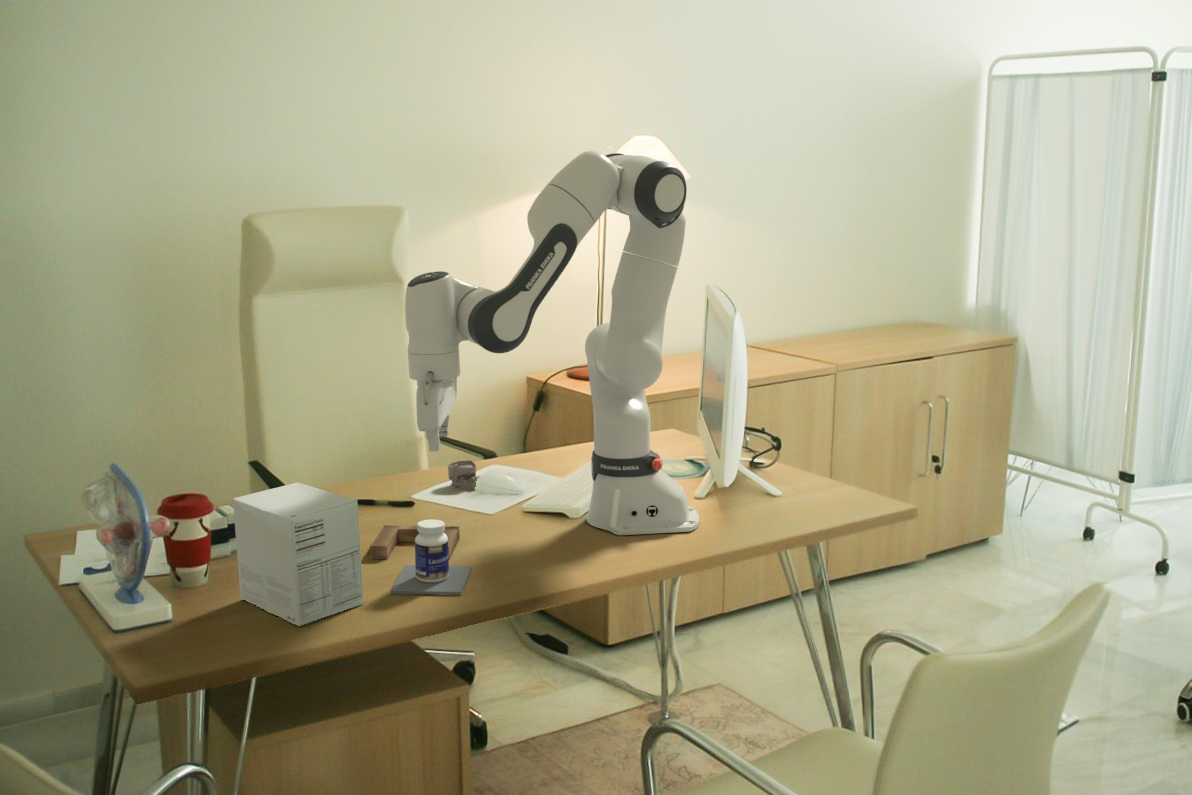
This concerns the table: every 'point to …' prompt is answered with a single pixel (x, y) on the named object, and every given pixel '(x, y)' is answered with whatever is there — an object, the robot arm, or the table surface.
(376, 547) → the holder
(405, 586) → the mat
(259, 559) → the supplement box
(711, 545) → the table surface
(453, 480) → the dental mold
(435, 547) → the pill bottle
